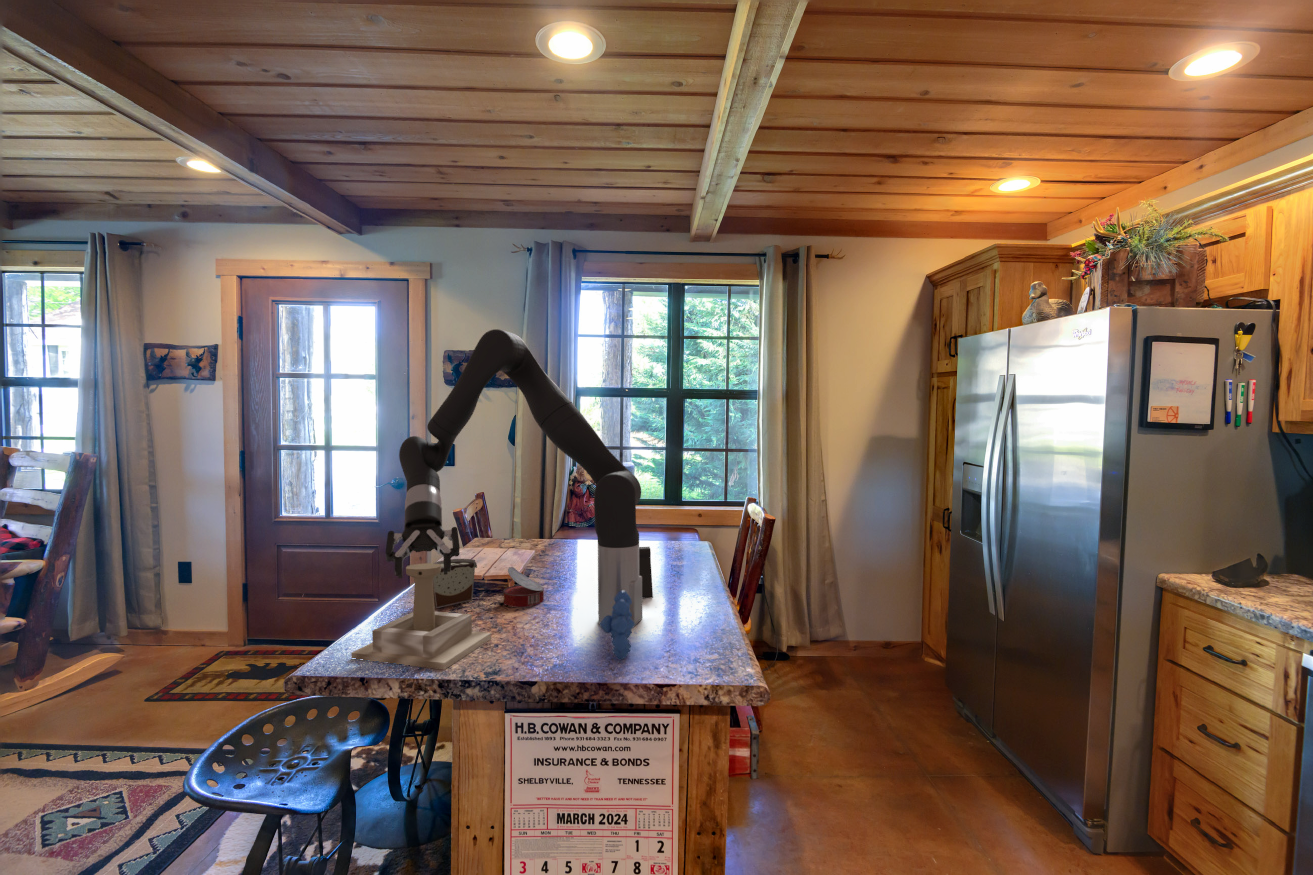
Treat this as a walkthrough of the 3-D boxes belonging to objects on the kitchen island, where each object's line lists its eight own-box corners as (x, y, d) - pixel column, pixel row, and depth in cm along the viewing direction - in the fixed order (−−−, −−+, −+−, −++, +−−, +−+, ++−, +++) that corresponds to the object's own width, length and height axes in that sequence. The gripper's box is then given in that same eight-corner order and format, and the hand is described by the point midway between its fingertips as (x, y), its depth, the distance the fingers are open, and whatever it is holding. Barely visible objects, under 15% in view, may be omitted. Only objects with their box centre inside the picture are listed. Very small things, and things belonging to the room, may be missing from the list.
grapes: (603, 643, 120) (602, 584, 120) (636, 643, 120) (636, 584, 120) (595, 667, 108) (595, 601, 108) (633, 667, 108) (632, 601, 108)
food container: (466, 594, 156) (465, 555, 156) (477, 598, 152) (477, 559, 152) (419, 604, 147) (418, 563, 147) (430, 609, 143) (429, 567, 143)
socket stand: (491, 638, 123) (490, 613, 123) (444, 669, 108) (444, 640, 108) (407, 630, 128) (407, 606, 128) (351, 659, 113) (350, 631, 113)
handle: (437, 645, 116) (437, 568, 116) (403, 647, 115) (402, 569, 115) (444, 636, 121) (443, 563, 121) (411, 638, 120) (410, 563, 120)
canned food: (520, 613, 155) (530, 575, 159) (548, 616, 149) (558, 576, 153) (487, 602, 147) (499, 562, 151) (515, 605, 141) (527, 563, 145)
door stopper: (652, 597, 152) (652, 550, 152) (629, 599, 151) (629, 551, 150) (647, 588, 161) (647, 543, 160) (625, 589, 160) (624, 544, 159)
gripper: (386, 501, 126) (383, 567, 116) (457, 497, 131) (460, 561, 121) (388, 522, 131) (385, 587, 121) (457, 518, 136) (460, 580, 126)
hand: (423, 574), depth 121 cm, fingers open, 8 cm apart
